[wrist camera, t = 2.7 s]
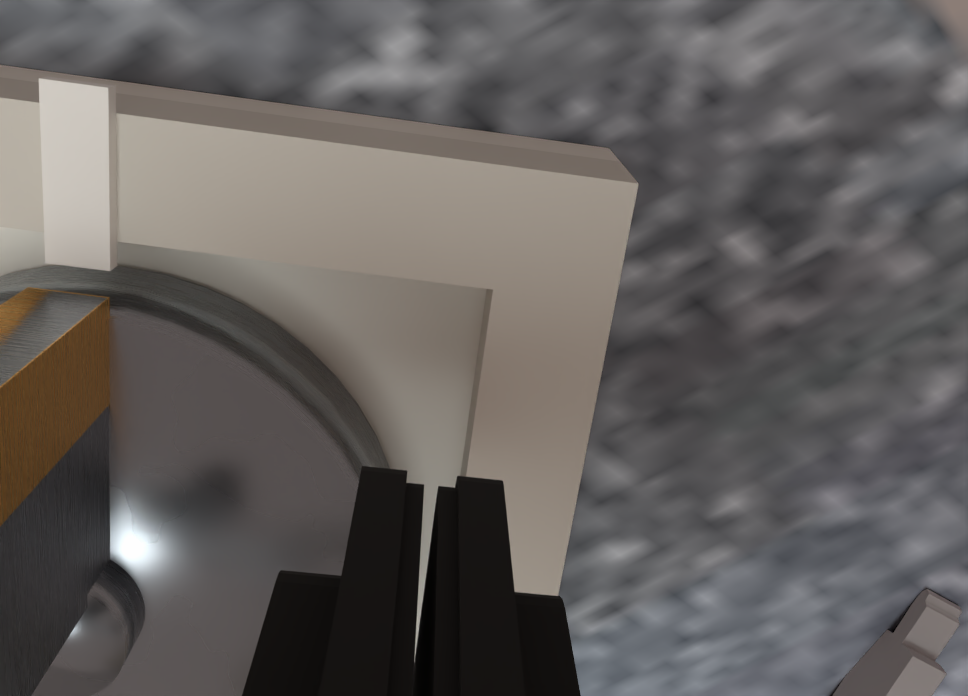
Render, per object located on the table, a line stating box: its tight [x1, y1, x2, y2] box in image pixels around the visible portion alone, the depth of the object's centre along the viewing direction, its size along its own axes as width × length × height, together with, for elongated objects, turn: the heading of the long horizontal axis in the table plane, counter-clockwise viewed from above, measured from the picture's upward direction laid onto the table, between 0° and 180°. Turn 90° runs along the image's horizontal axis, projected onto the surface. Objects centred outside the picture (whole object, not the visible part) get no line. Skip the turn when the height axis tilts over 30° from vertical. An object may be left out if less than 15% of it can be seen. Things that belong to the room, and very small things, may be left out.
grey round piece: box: [0, 265, 390, 696], centre depth 15 cm, size 11×11×7 cm
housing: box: [0, 65, 639, 662], centre depth 18 cm, size 17×17×4 cm
